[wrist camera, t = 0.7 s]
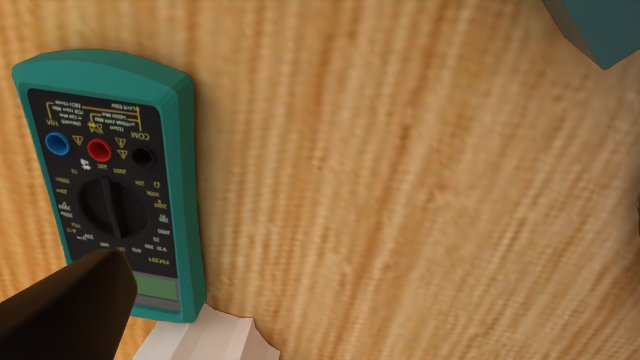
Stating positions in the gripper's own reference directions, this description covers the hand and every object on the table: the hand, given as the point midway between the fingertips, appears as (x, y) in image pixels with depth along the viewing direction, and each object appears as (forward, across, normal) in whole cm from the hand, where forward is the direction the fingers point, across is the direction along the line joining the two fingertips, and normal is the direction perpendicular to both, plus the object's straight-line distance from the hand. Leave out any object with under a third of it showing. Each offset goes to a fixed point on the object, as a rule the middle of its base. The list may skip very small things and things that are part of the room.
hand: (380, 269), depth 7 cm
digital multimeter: (+13, +14, +6) cm, 20 cm away
